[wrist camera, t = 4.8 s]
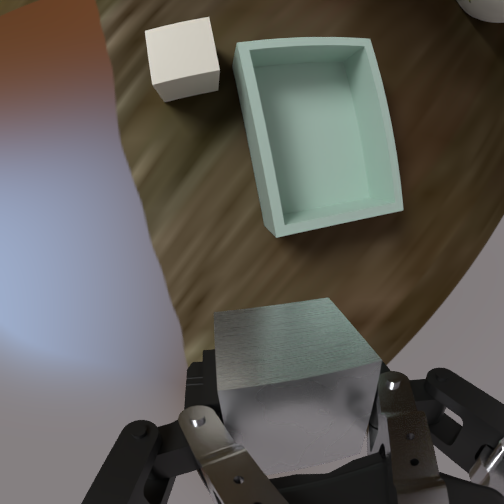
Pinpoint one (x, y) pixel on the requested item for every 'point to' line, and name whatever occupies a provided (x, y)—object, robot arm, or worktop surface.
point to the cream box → (183, 59)
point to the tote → (317, 131)
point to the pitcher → (484, 9)
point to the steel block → (294, 383)
